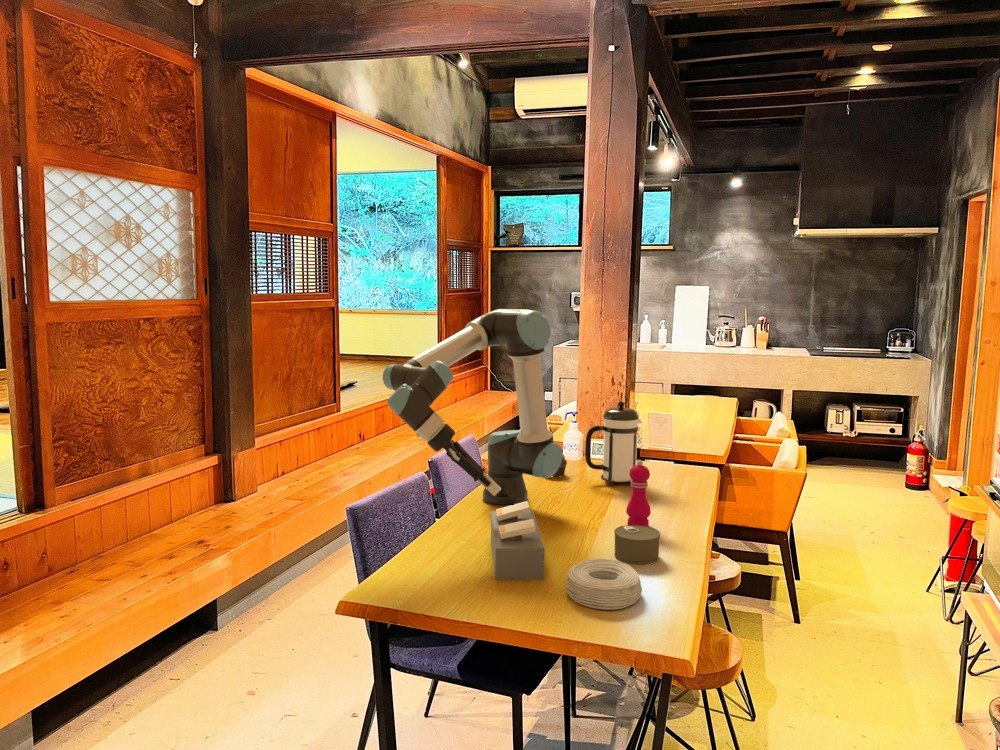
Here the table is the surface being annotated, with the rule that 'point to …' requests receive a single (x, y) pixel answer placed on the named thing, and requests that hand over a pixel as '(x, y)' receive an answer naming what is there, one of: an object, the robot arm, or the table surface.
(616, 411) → the coffee press
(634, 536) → the can
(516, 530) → the rocker
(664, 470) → the table surface
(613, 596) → the cable
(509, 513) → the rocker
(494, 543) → the rocker switch box
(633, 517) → the pepper mill
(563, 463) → the cupcake
